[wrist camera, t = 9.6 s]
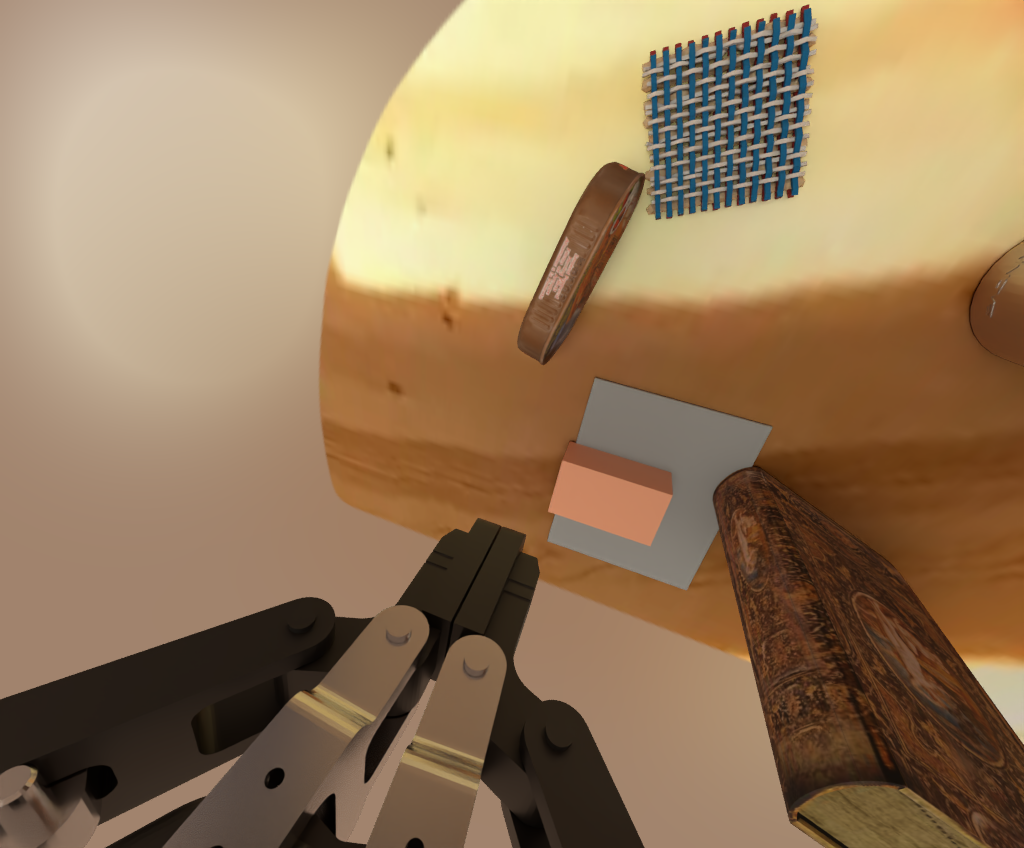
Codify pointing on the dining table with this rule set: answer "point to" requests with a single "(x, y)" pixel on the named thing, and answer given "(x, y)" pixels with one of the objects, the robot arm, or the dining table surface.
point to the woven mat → (730, 115)
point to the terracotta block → (611, 493)
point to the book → (862, 687)
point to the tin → (579, 259)
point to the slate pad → (671, 447)
